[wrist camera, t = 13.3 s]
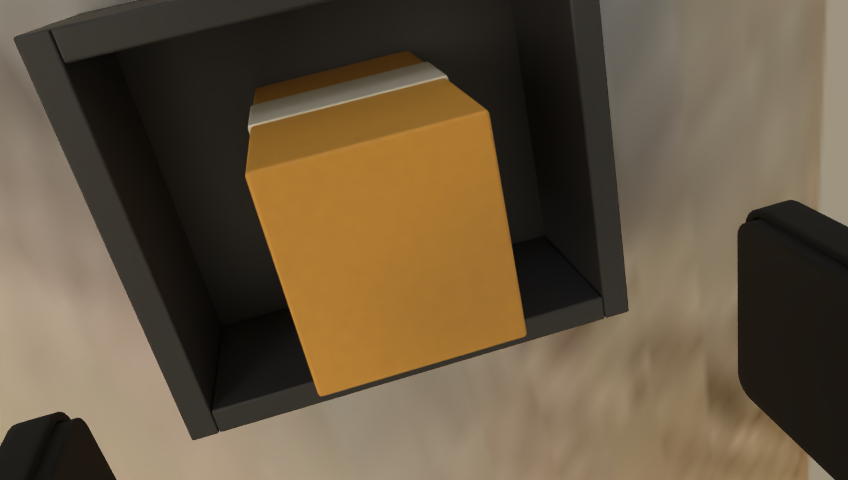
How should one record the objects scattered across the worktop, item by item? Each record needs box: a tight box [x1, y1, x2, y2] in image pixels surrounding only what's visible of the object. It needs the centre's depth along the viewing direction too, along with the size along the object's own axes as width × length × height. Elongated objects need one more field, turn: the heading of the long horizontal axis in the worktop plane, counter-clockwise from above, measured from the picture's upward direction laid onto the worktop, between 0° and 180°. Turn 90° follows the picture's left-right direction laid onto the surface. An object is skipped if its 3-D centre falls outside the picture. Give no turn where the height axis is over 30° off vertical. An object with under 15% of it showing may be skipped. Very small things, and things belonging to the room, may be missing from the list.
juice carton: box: [245, 51, 526, 396], centre depth 19 cm, size 6×5×9 cm
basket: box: [14, 0, 629, 440], centre depth 21 cm, size 14×12×6 cm
